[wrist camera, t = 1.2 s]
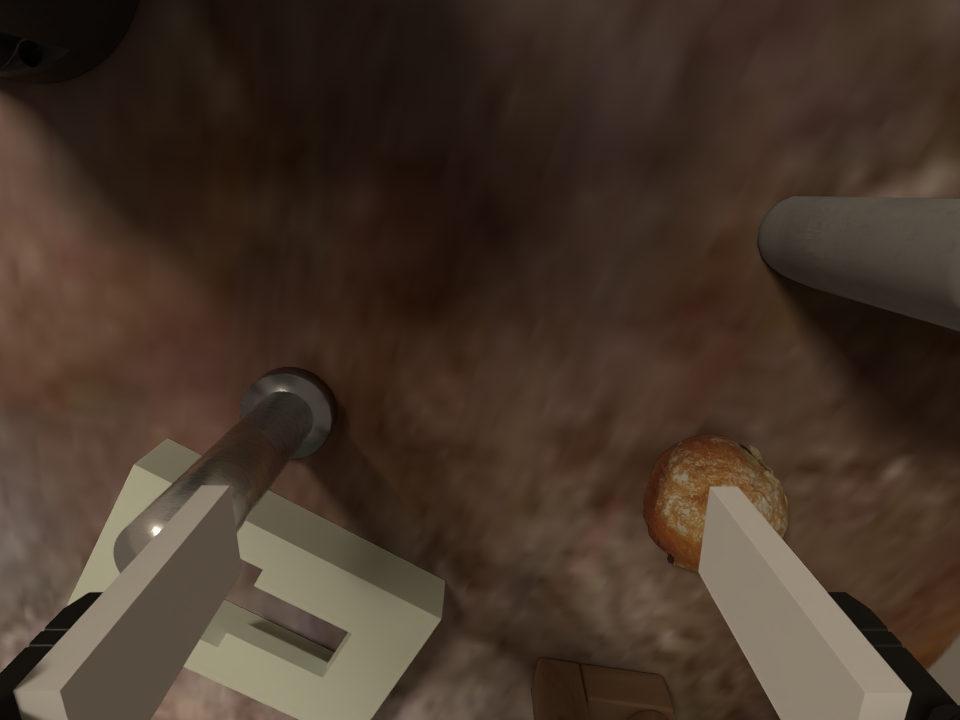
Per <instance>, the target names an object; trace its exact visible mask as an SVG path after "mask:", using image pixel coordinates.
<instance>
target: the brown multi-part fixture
mask: <svg viewBox="0 0 960 720" xmlns="http://www.w3.org/2000/svg"><path fill="white" fill-rule="evenodd" d="M531 693H532V704H533V715H534V720H672V717H673V714H674V707H673V704H672V701H671V698H670V696H669V693H668V690H667V687H666V685H665V682H664V679H663V677H662V676H661V675H657V674H650V673H643V672H636V671H629V670H622V669H614V668H607V667H600V666H593V665H586V664H582V665H581V666H580V667H579V665H578V664H577V663H575V662H568V661H561V660H554V659H547V658H540V659H539V660H538V662H537V667H536V671H535V675H534V679H533V683H532V688H531Z"/></svg>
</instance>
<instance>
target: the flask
mask: <svg viewBox="0 0 960 720" xmlns="http://www.w3.org/2000/svg"><path fill="white" fill-rule="evenodd" d="M758 246H759V250H760V253H761V256H762V257H763V259H764V260H765V261H766V262H767V264H768V265H769V266H770V267H771V268H773V269H774V270H775V271H777V272H778V273H780V274H781V275H783V276H785V277H787V278H789V279H791V280H794V281H796V282H798V283H801V284H804V285H806V286H809V287H812V288H814V289H818V290H821V291H825V292H828V293H831V294H835V295H838V296H841V297H845V298H848V299H852V300H855V301H858V302H862V303H865V304H868V305H872V306H875V307H879V308H882V309H885V310H889V311H892V312H895V313H899V314H902V315H906V316H909V317H912V318H916V319H919V320H922V321H926V322H929V323H933V324H936V325H939V326H943V327H946V328H950V329H953V330H956V331H960V199H942V198H879V197H817V196H792V197H789V198H787V199H785V200H783V201H781V202H778V203H777V204H776V205H775V206H774V207H773V208H772V209H771V210H770V211H769V212H768V213H767V214H766V216H765V218H764V220H763V222H762V224H761V226H760V228H759V235H758Z"/></svg>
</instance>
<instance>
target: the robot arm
mask: <svg viewBox="0 0 960 720" xmlns="http://www.w3.org/2000/svg"><path fill="white" fill-rule="evenodd" d="M137 2H138V0H0V77H3V78H7V79H11V80H16V81H21V82H28V83H51V82H58V81H63V80H67V79H70V78H73V77H76V76H78V75H81V74H83V73H85V72H87V71H89V70H90V69H92V68H93V67H95V66H96V65H98V64H99V63H100V62H102V61H103V60H104V59H105V58H106V57H107V56H108V55H109V54H110V53H111V52H112V51H113V50H114V49H115V47H116V46H117V45H118V44H119V42H120V41H121V39H122V38H123V36H124V35H125V33H126V31H127V29H128V27H129V25H130V23H131V20H132V18H133V15H134V12H135V9H136V6H137ZM241 572H242V567H241V560H240V553H239V546H238V539H237V532H236V525H235V518H234V511H233V504H232V497H231V490H230V486H229V485H202V486H201V487H200V488H199V489H198V490H197V491H196V492H195V493H194V495H193V496H192V497H191V498H190V499H189V500H188V501H187V502H186V503H185V504H184V505H183V506H182V508H181V509H180V510H179V511H178V512H177V513H176V514H175V515H174V516H173V517H172V518H171V520H170V521H169V522H168V523H167V524H166V525H165V526H164V527H163V528H162V529H161V530H160V531H159V533H158V534H157V535H156V536H155V537H154V538H153V539H152V540H151V541H150V542H149V543H148V545H147V546H146V547H145V548H144V549H143V550H142V551H141V552H140V553H139V554H138V555H137V556H136V558H135V559H134V560H133V561H132V562H131V563H130V564H129V565H128V566H127V567H126V568H125V569H124V571H123V572H122V573H121V574H120V575H119V576H118V577H117V578H116V579H115V580H114V581H113V583H112V584H111V585H110V586H109V587H108V588H107V589H106V590H105V591H104V592H89V593H87V594H85V595H84V596H82V597H81V598H79V599H78V600H76V601H75V602H73V603H72V604H70V605H68V606H67V607H65V608H64V609H63V610H62V611H61V612H60V613H59V614H58V615H57V616H56V617H55V618H54V619H53V620H52V621H51V622H50V623H49V624H48V625H47V626H46V627H45V630H44V631H41V632H40V633H39V634H38V635H37V636H36V637H35V638H34V639H33V640H32V641H31V642H30V645H29V647H26V648H25V649H24V650H23V651H22V652H21V653H20V654H19V655H18V656H17V657H16V658H15V659H14V660H13V661H12V662H11V663H10V664H9V665H8V666H7V667H6V668H5V669H4V670H3V671H2V672H1V673H0V720H151V718H152V716H153V715H154V713H155V712H156V710H157V708H158V707H159V705H160V703H161V702H162V700H163V699H164V697H165V695H166V694H167V692H168V690H169V689H170V687H171V686H172V684H173V682H174V681H175V679H176V677H177V676H178V674H179V673H180V671H181V669H182V668H183V666H184V664H185V663H186V661H187V660H188V658H189V656H190V655H191V653H192V651H193V650H194V648H195V647H196V645H197V643H198V642H199V640H200V638H201V637H202V635H203V634H204V632H205V630H206V629H207V627H208V625H209V624H210V622H211V621H212V619H213V617H214V616H215V614H216V612H217V611H218V609H219V608H220V606H221V604H222V603H223V601H224V599H225V598H226V596H227V595H228V593H229V591H230V590H231V588H232V586H233V585H234V583H235V582H236V580H237V578H238V577H239V575H240V573H241ZM698 572H699V574H700V576H701V578H702V579H703V581H704V583H705V585H706V587H707V588H708V590H709V592H710V594H711V596H712V597H713V599H714V601H715V603H716V604H717V606H718V608H719V610H720V612H721V613H722V615H723V617H724V619H725V621H726V622H727V624H728V626H729V628H730V630H731V631H732V633H733V635H734V637H735V639H736V640H737V642H738V644H739V646H740V648H741V649H742V651H743V653H744V655H745V656H746V658H747V660H748V662H749V664H750V665H751V667H752V669H753V671H754V673H755V674H756V676H757V678H758V680H759V682H760V683H761V685H762V687H763V689H764V691H765V692H766V694H767V696H768V698H769V700H770V701H771V703H772V705H773V707H774V708H775V710H776V712H777V714H778V716H779V717H780V719H781V720H960V706H958V705H957V704H956V703H955V702H954V701H953V699H952V698H951V697H950V696H949V695H948V694H947V693H946V692H945V691H944V689H943V688H942V687H941V686H940V685H939V684H938V683H937V682H936V681H935V680H934V679H933V677H931V675H930V674H929V673H928V672H927V671H926V670H925V669H924V668H923V666H922V665H921V664H920V663H919V662H918V661H917V660H916V659H915V658H914V657H913V655H912V654H911V653H910V652H909V651H908V650H907V649H906V648H903V647H902V643H901V642H900V641H899V640H898V639H897V638H896V637H895V636H894V635H893V634H892V632H888V630H887V627H886V626H885V625H884V624H883V623H882V621H881V620H880V619H879V618H878V617H877V616H876V615H875V614H874V613H873V612H872V611H871V609H869V608H868V607H866V606H865V605H864V604H862V603H861V602H859V601H858V600H856V599H855V598H853V597H852V596H850V595H849V594H847V593H846V592H826V590H825V589H824V588H823V587H822V586H821V585H820V583H819V582H818V581H817V580H816V579H815V577H814V576H813V575H812V574H811V573H810V572H809V570H808V569H807V568H806V567H805V566H804V564H803V563H802V562H801V561H800V560H799V558H798V557H797V556H796V555H795V554H794V553H793V551H792V550H791V549H790V548H789V547H788V545H787V544H786V543H785V542H784V541H783V540H782V538H781V537H780V536H779V535H778V534H777V532H776V531H775V530H774V529H773V528H772V526H771V525H770V524H769V523H768V522H767V521H766V519H765V518H764V517H763V516H762V515H761V513H760V512H759V511H758V510H757V509H756V508H755V506H754V505H753V504H752V503H751V502H750V500H749V499H748V498H747V497H746V496H745V494H744V493H743V492H742V491H741V490H740V489H739V487H710V489H709V496H708V503H707V511H706V518H705V526H704V533H703V541H702V548H701V555H700V563H699V570H698Z"/></svg>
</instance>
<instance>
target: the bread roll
mask: <svg viewBox="0 0 960 720" xmlns="http://www.w3.org/2000/svg"><path fill="white" fill-rule="evenodd" d="M710 487H739V489H740V490H741V491H742V492H743V493H744V494H745V496H746V497H747V498H748V499H749V500H750V502H751V503H752V504H753V505H754V506H755V508H756V509H757V510H758V511H759V512H760V513H761V515H762V516H763V517H764V518H765V519H766V521H767V522H768V523H769V524H770V525H771V526H772V528H773V529H774V530H775V531H776V532H777V534H778V535H779V536H780V537H781V538H782V539H783V537H784V535H785V533H786V531H787V529H788V525H789V510H788V500H787V497H786V495H785V492H784V489H783V485H782V484H781V482H780V481H779V480H778V479H777V478H776V477H775V476H774V475H773V470H772V469H771V468H770V467H767V466H766V465H765V463H764V462H763V458H762V456H761V454H760V452H759V451H758V450H757V449H756V448H755V447H753V446H751V445H749V446H748V447H747V448H746V447H744V446H743V445H741V444H738V443H737V442H736V441H733V440H730V439H729V438H727V437H721V436H713V435H699V436H695V437H691V438H688V439H686V440H683V441H681V442H679V443H677V444H676V445H674V446H673V447H671V448H670V449H669V450H667V451H666V452H665V453H663V455H662V456H661V457H660V458H659V459H658V460H657V462H656V464H655V466H654V469H653V471H652V474H651V478H650V480H649V482H648V486H647V490H646V494H645V498H644V511H643V515H644V519H645V522H646V524H647V526H648V532H649V536H650V537H651V539H652V540H653V541H654V542H655V543H656V545H658V546H659V547H661V548H662V549H664V550H665V551H666V552H667V553H668V558H667V560H668V562H669V563H671V564H672V565H675V566H679V567H682V568H685V569H687V570H690V571H693V572H696V573H699V572H698V570H699V563H700V555H701V548H702V541H703V533H704V526H705V518H706V511H707V503H708V496H709V489H710Z"/></svg>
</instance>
